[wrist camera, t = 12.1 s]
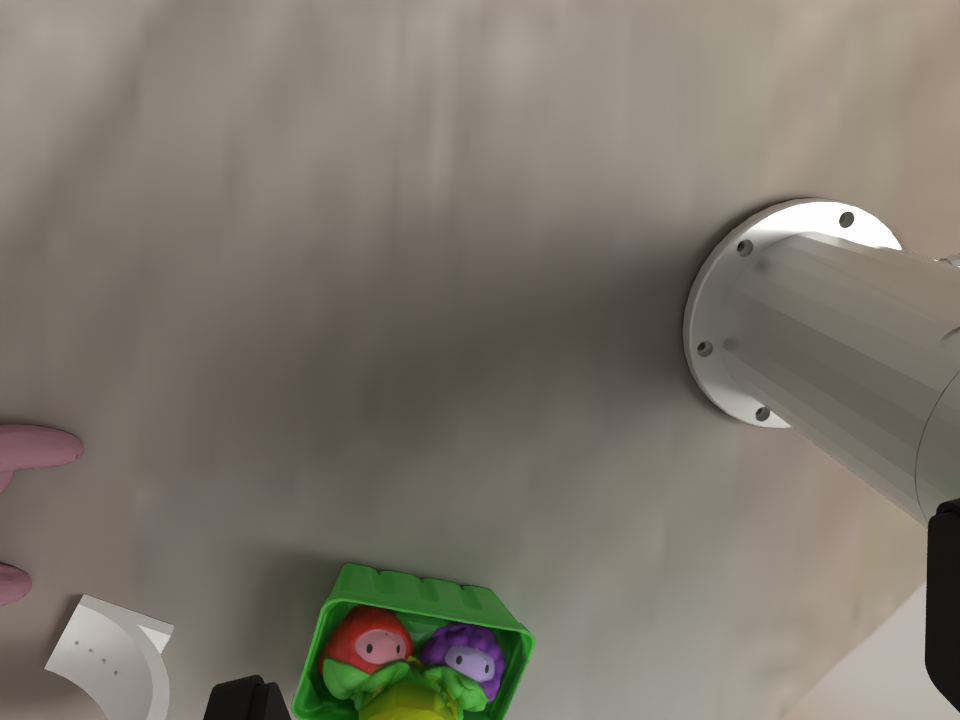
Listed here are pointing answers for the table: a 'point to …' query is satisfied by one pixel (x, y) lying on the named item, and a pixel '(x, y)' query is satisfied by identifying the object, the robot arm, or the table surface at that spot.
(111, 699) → the headphone stand
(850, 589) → the table surface
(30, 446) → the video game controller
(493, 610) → the fruit basket
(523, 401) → the table surface
